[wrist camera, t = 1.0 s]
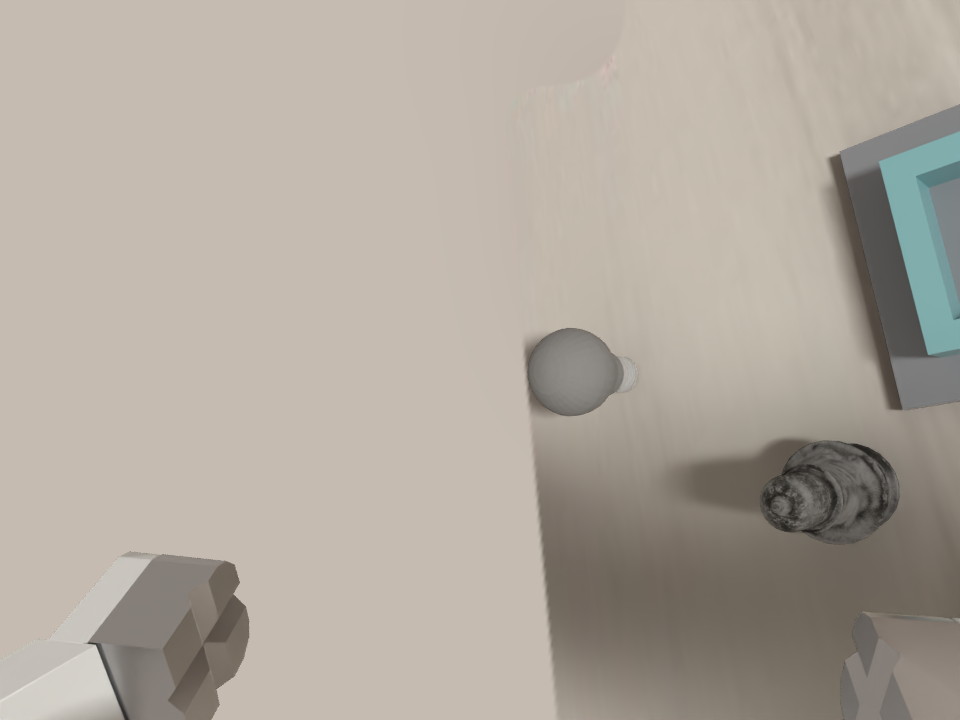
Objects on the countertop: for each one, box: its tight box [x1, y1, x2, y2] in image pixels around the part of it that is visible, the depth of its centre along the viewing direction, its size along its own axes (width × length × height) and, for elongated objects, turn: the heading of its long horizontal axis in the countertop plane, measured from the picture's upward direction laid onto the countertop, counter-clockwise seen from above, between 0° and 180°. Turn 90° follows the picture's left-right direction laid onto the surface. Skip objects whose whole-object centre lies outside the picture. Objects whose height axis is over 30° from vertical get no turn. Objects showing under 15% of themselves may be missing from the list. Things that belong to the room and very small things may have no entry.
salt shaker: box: [760, 441, 899, 545], centre depth 41 cm, size 6×6×12 cm
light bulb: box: [528, 328, 638, 416], centre depth 53 cm, size 6×6×10 cm
